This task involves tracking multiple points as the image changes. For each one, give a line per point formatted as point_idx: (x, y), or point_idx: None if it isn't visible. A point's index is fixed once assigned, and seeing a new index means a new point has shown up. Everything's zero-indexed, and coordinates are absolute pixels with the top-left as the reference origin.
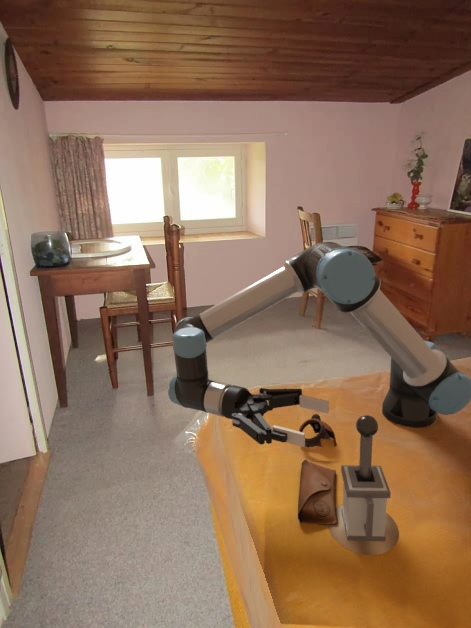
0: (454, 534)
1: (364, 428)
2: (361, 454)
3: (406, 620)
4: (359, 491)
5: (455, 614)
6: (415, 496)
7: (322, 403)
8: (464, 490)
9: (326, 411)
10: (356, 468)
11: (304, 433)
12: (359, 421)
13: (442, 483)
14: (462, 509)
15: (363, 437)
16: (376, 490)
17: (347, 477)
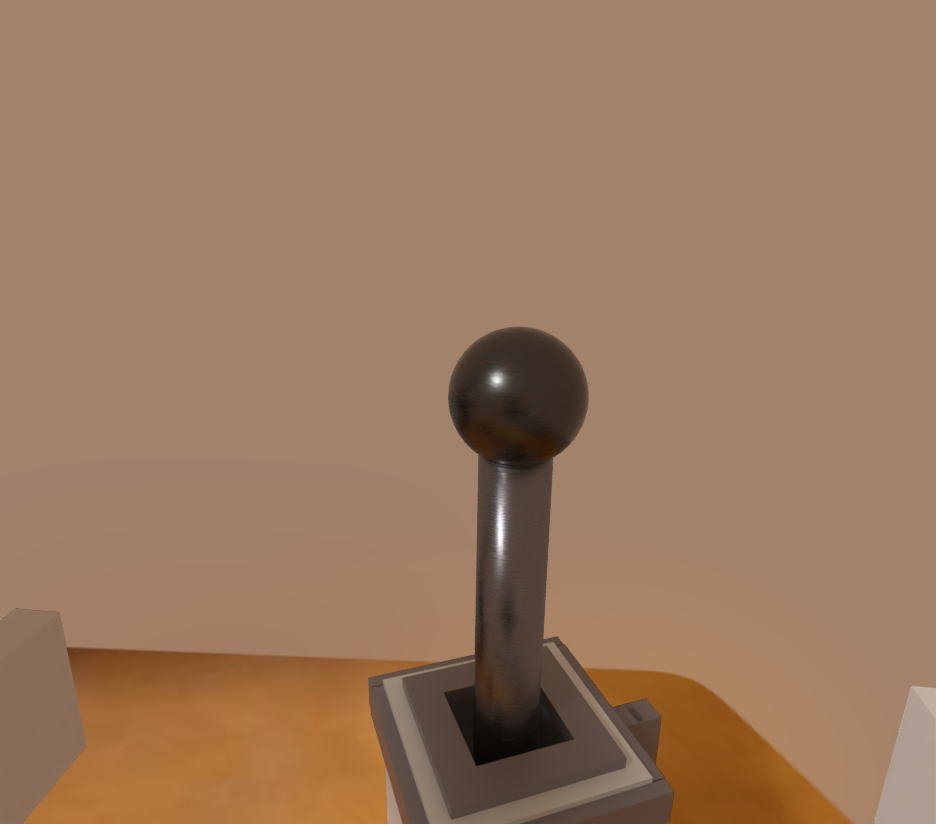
0: None
1: (586, 380)
2: (542, 588)
3: (804, 783)
4: (627, 738)
5: (687, 687)
6: (232, 778)
7: (11, 691)
8: (194, 654)
9: (70, 739)
10: (453, 759)
11: (926, 688)
12: (557, 366)
13: (152, 702)
14: (288, 661)
15: (552, 466)
16: (576, 676)
17: (550, 803)
